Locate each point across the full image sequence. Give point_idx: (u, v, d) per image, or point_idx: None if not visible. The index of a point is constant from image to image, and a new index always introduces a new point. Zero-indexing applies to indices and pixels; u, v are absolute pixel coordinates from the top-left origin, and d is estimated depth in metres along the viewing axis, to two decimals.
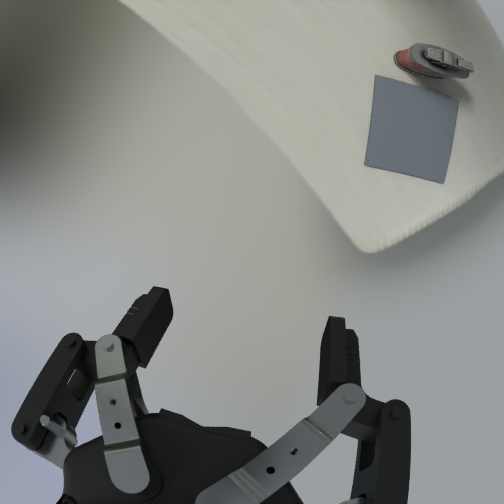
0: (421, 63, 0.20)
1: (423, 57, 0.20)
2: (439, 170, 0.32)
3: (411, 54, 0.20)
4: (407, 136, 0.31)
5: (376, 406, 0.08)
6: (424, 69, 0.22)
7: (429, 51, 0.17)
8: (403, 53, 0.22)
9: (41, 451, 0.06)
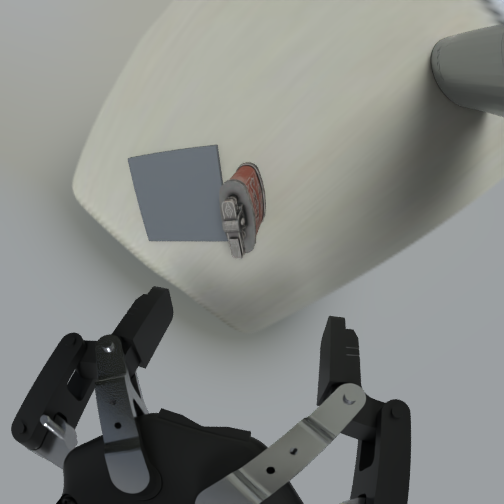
0: (220, 194, 0.27)
1: (228, 195, 0.27)
2: (156, 234, 0.39)
3: (227, 181, 0.26)
4: (168, 192, 0.35)
5: (376, 406, 0.08)
6: None
7: (227, 202, 0.25)
8: (241, 172, 0.29)
9: (41, 451, 0.06)
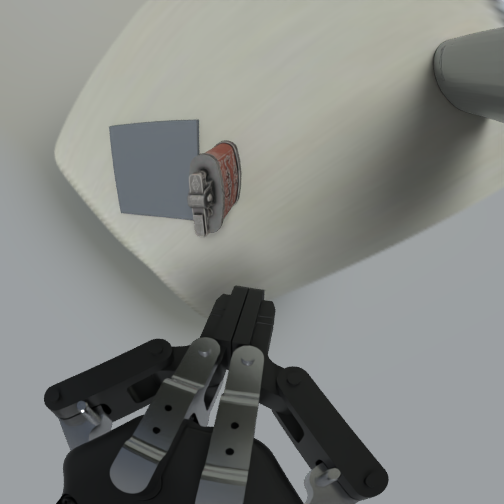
0: (191, 167, 0.25)
1: (199, 170, 0.25)
2: (128, 206, 0.37)
3: (199, 155, 0.24)
4: (144, 164, 0.33)
5: (278, 372, 0.10)
6: None
7: (195, 175, 0.23)
8: (217, 148, 0.27)
9: (63, 423, 0.07)
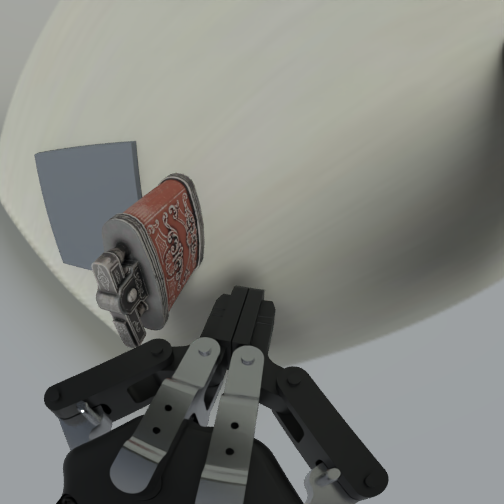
0: (104, 238, 0.14)
1: (115, 243, 0.14)
2: (69, 256, 0.26)
3: (113, 217, 0.13)
4: (76, 206, 0.22)
5: (278, 372, 0.10)
6: None
7: (99, 265, 0.12)
8: (153, 195, 0.16)
9: (63, 423, 0.07)
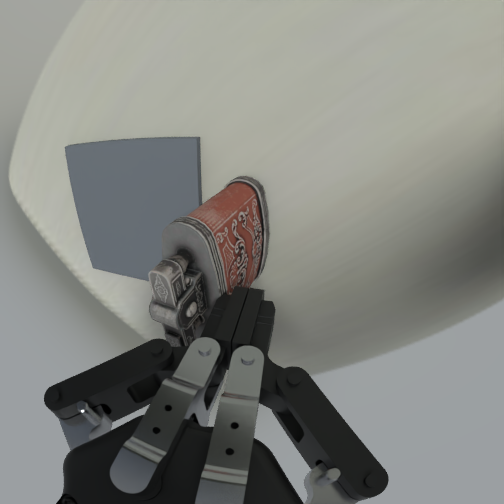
0: (164, 242, 0.13)
1: (177, 249, 0.13)
2: (101, 261, 0.25)
3: (177, 221, 0.12)
4: (116, 206, 0.21)
5: (278, 372, 0.10)
6: None
7: (158, 275, 0.11)
8: (223, 199, 0.15)
9: (63, 423, 0.07)
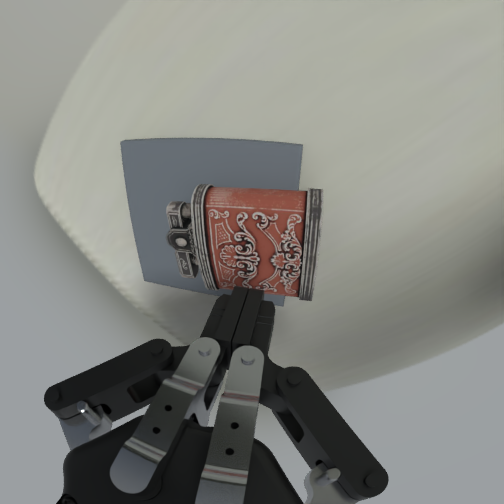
0: None
1: None
2: (158, 274, 0.24)
3: (203, 184, 0.17)
4: None
5: (278, 372, 0.10)
6: None
7: (169, 205, 0.17)
8: (255, 192, 0.16)
9: (63, 423, 0.07)
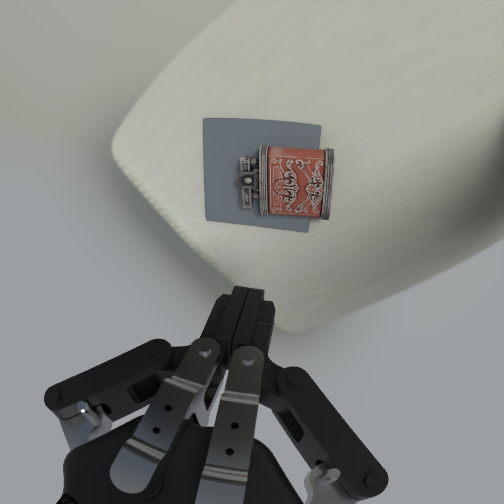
0: None
1: None
2: (218, 213, 0.34)
3: (264, 145, 0.27)
4: None
5: (278, 372, 0.10)
6: None
7: (241, 157, 0.28)
8: (296, 149, 0.26)
9: (63, 423, 0.07)
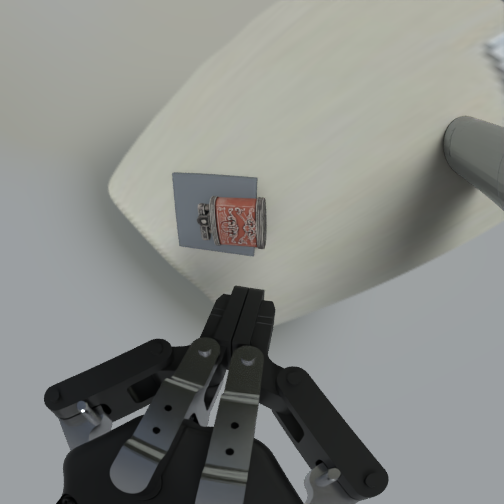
0: None
1: None
2: (188, 241, 0.46)
3: (214, 196, 0.39)
4: None
5: (278, 372, 0.10)
6: None
7: (198, 204, 0.40)
8: (236, 199, 0.38)
9: (63, 423, 0.07)
